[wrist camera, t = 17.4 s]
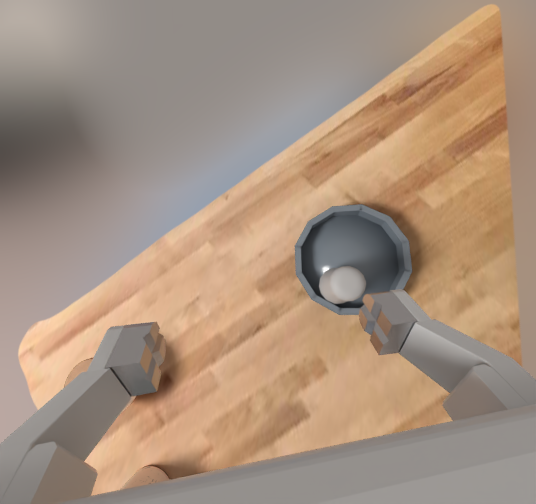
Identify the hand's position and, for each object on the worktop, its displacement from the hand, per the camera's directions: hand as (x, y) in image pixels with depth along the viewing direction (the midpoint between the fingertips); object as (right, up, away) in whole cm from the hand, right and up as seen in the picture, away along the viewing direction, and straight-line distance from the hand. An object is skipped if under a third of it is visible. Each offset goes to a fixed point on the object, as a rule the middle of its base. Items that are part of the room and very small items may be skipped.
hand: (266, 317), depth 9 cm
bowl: (+14, +1, +32) cm, 35 cm away
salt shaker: (+12, -3, +31) cm, 33 cm away
